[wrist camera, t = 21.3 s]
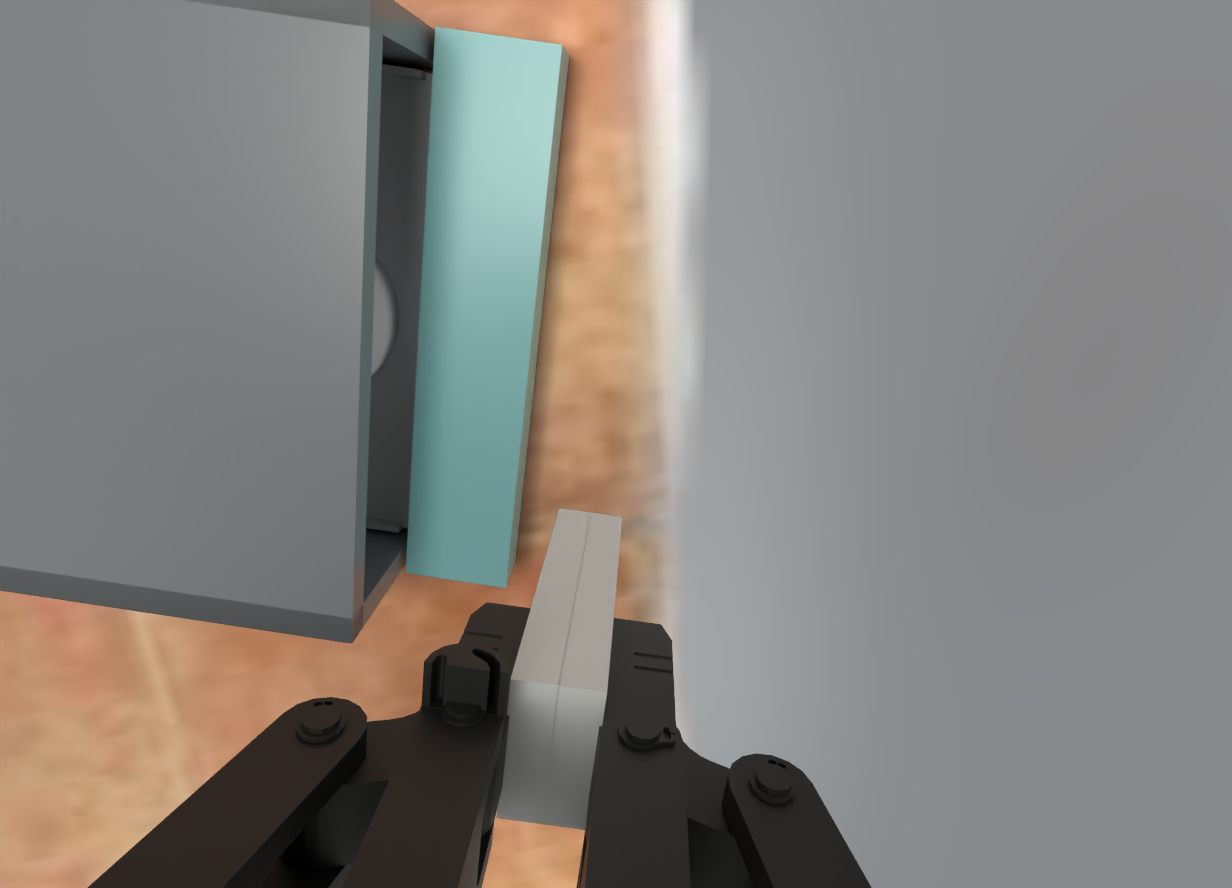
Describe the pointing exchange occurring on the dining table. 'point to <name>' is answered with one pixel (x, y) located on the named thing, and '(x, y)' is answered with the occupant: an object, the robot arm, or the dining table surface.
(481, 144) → the tray
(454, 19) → the dining table surface
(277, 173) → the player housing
